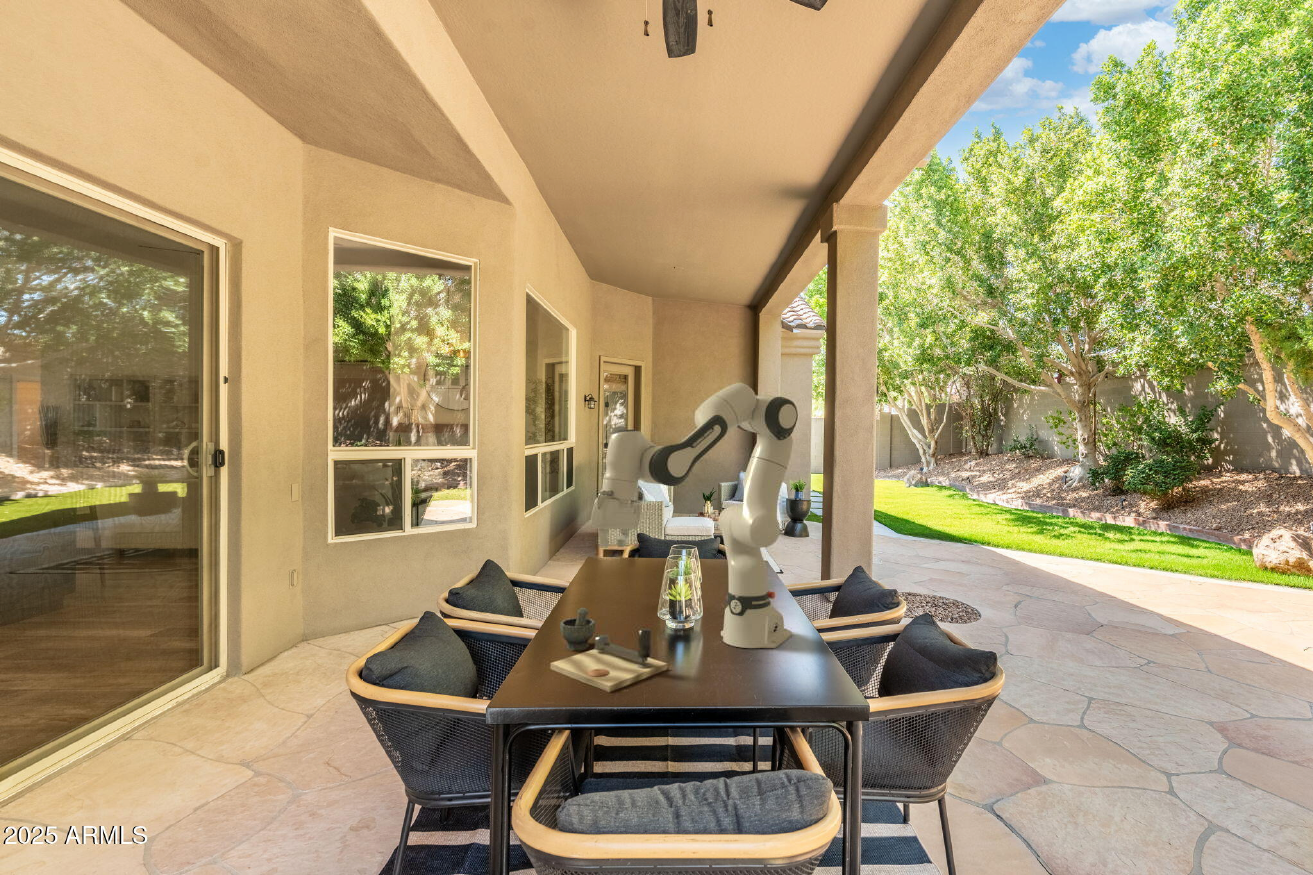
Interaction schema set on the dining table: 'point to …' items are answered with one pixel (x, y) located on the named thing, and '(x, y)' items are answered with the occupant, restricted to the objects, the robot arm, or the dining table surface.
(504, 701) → the dining table surface
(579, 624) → the mortar and pestle
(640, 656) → the lever
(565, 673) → the lever board
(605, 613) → the dining table surface
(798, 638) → the dining table surface
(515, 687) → the dining table surface
